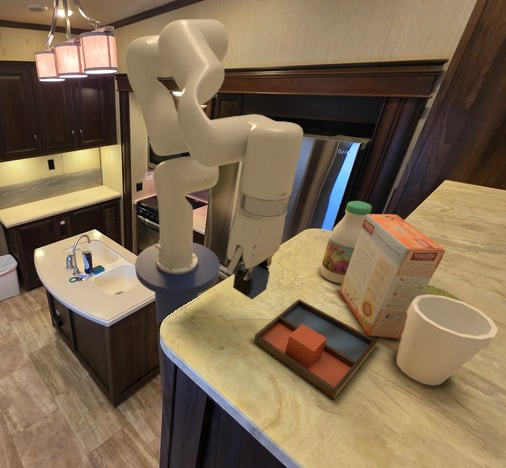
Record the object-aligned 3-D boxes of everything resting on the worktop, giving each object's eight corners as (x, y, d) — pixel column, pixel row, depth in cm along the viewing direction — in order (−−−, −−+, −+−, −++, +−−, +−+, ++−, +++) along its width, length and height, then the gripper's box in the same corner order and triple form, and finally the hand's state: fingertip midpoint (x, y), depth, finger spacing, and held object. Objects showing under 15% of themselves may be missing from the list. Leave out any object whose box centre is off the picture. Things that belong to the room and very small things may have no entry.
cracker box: (401, 340, 56) (449, 249, 46) (366, 337, 57) (406, 248, 47) (366, 292, 68) (398, 212, 58) (338, 291, 69) (365, 212, 59)
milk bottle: (334, 263, 79) (355, 195, 69) (362, 279, 72) (390, 206, 63) (312, 271, 77) (331, 201, 67) (339, 288, 70) (364, 214, 60)
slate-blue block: (232, 287, 58) (235, 269, 56) (246, 278, 60) (249, 261, 58) (252, 299, 55) (255, 281, 52) (266, 289, 57) (269, 271, 55)
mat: (386, 303, 65) (389, 297, 64) (402, 282, 70) (405, 276, 69) (455, 333, 57) (460, 326, 56) (468, 306, 62) (472, 299, 61)
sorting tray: (253, 341, 58) (254, 334, 57) (297, 305, 66) (298, 298, 65) (333, 399, 47) (336, 392, 46) (374, 348, 55) (377, 340, 54)
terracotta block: (285, 352, 55) (289, 335, 53) (297, 340, 57) (302, 323, 55) (308, 368, 52) (314, 351, 50) (321, 354, 54) (327, 338, 52)
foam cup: (399, 338, 56) (425, 287, 50) (464, 373, 50) (504, 318, 43) (376, 363, 52) (402, 310, 46) (444, 405, 45) (485, 350, 39)
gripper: (273, 183, 55) (259, 261, 64) (211, 209, 46) (205, 294, 56) (313, 194, 49) (291, 277, 58) (251, 226, 41) (237, 317, 50)
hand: (249, 285), depth 57 cm, fingers closed on slate-blue block, 4 cm apart
